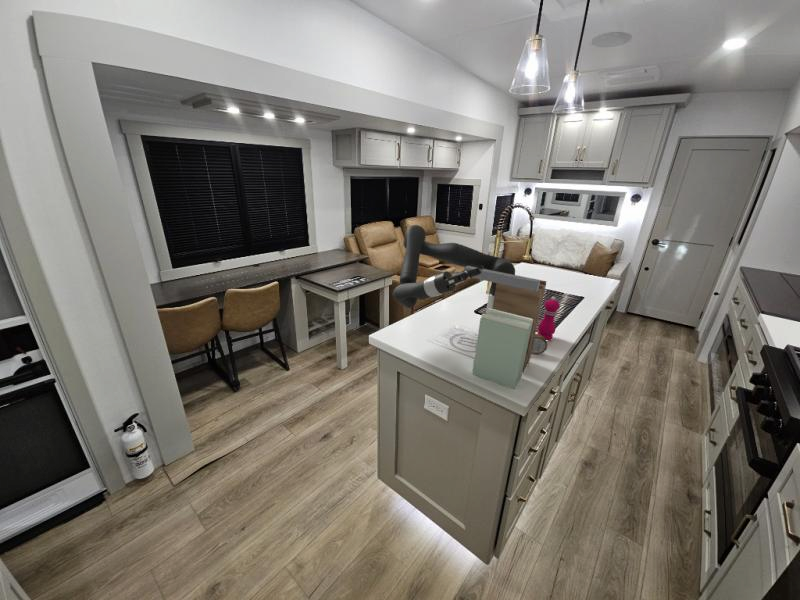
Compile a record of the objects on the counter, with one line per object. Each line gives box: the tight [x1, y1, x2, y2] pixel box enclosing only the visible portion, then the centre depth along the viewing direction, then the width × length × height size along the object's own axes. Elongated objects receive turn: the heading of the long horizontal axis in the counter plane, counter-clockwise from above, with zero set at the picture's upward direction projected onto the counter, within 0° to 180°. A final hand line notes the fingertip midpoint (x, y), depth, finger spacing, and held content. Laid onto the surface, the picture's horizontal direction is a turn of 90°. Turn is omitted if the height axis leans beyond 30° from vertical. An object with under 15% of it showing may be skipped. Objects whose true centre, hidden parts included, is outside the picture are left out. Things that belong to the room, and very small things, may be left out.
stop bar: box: [463, 266, 541, 291], centre depth 103 cm, size 3×24×3 cm, turn 57°
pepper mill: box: [537, 296, 561, 341], centre depth 141 cm, size 7×7×20 cm
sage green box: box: [471, 308, 533, 390], centre depth 110 cm, size 9×15×23 cm, turn 57°
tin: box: [531, 333, 548, 355], centre depth 130 cm, size 15×3×8 cm, turn 74°
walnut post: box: [492, 279, 547, 373], centre depth 118 cm, size 9×15×33 cm, turn 57°
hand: (481, 269), depth 106 cm, fingers closed on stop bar, 3 cm apart
